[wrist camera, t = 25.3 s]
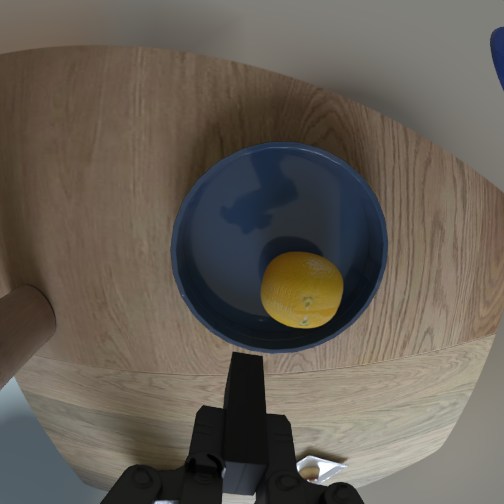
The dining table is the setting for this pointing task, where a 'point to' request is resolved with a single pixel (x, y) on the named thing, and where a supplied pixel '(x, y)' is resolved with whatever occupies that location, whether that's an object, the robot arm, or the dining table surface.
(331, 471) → the dessert
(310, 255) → the fruit
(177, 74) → the dining table surface
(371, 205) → the bowl
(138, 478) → the robot arm
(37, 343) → the tall ceramic vase
